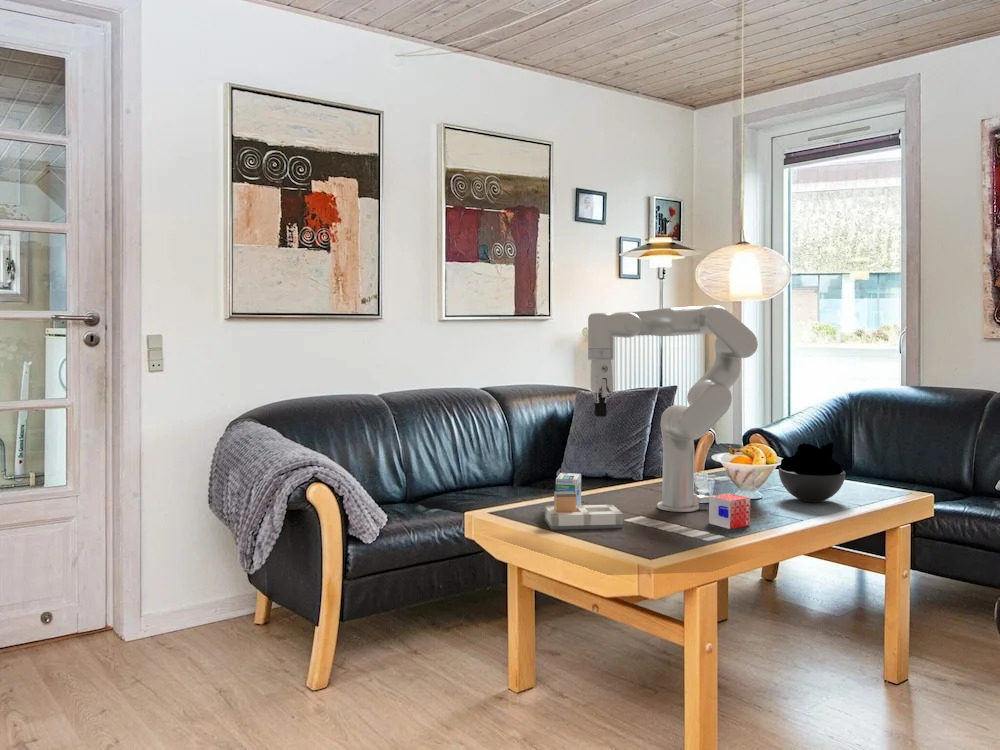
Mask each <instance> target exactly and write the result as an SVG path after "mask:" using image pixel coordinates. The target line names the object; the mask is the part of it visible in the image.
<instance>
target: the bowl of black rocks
mask: <svg viewBox="0 0 1000 750" xmlns="http://www.w3.org/2000/svg"><path fill="white" fill-rule="evenodd" d="M796 447H797V448H796V449H797V451H795V453H794V455H792V456H788V455H785V456H784V457H783V458H782V459H781V460H780V466H779V468H778V475H779V480H780V483H781V484H782V486H783V488H784V489H785V490H786V491H787V492H788V493H789V494H790V495H791V496H793V497H794V498H796V499H798V500H801V501H803V502H808V503H818V502H823V501H826V500H828V499H831V498H833V496H835V495H836V494H837V493H838V492H839V491H840V489H841V488H842V487H843V485H844V481H845V479H846V471H845V470H843V468H842V465H841V464H839V463H838V462H837V461H835V459H833V453H834V452H833V451H834V450H833V449H834V442H827V444H825V445H821V446H820V448H819V447H818V446H816V445H813V444H810V443H805V442H804V443H800V444H799V445H798V446H796Z"/></svg>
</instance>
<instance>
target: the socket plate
mask: <svg viewBox="0 0 1000 750" xmlns="http://www.w3.org/2000/svg"><path fill="white" fill-rule="evenodd" d="M623 515H624V514H623V512H622V511H621V510H619V508H617V507H616V506H615V505H614V504H585V505H584V504H581V505H576V512H564V513H557V512H556V511H555V510H554V505H545V506H544V522H545V523H546V524H547V525H548V527H549V528H550V530H551V531H552V530H553V531H554V530H562V531H563V530H591V529H594V530H596V529H623V528H624V527H623V524H624V516H623Z"/></svg>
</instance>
